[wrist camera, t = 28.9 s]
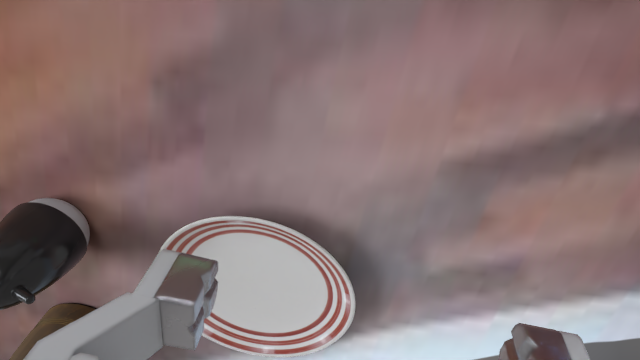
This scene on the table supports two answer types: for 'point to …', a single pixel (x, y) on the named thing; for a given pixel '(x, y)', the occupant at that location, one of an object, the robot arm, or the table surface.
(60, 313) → the wooden container
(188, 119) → the table surface
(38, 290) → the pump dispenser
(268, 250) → the dinner plate
